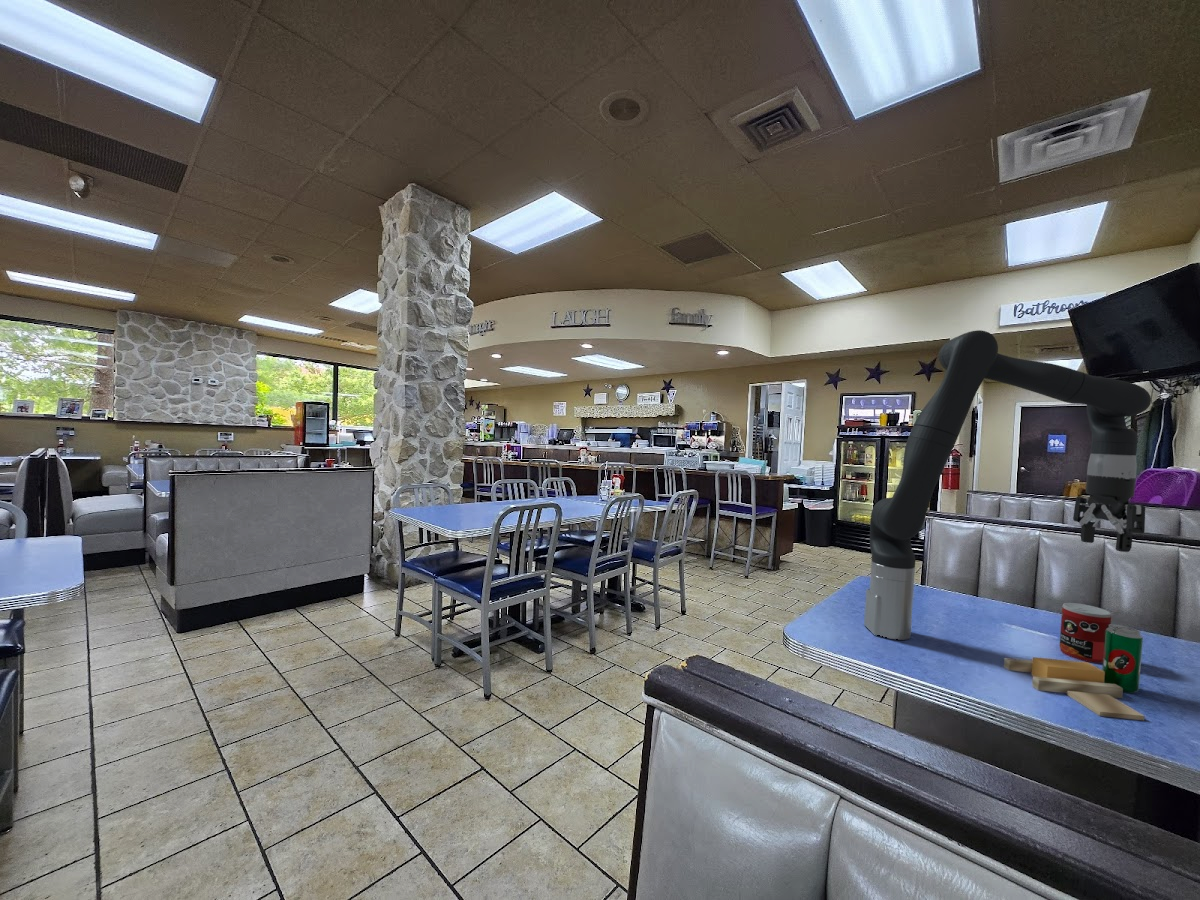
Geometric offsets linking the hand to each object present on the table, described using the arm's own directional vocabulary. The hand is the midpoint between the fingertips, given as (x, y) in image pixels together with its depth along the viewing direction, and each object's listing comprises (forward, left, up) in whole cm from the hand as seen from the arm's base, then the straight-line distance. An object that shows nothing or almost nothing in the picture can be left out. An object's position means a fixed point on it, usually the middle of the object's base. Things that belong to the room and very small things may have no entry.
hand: (1104, 546), depth 109 cm
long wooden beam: (-16, -14, -26) cm, 34 cm away
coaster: (-17, -23, -26) cm, 38 cm away
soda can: (-7, -14, -26) cm, 30 cm away
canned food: (-2, +1, -26) cm, 26 cm away
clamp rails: (-18, -14, -26) cm, 34 cm away
